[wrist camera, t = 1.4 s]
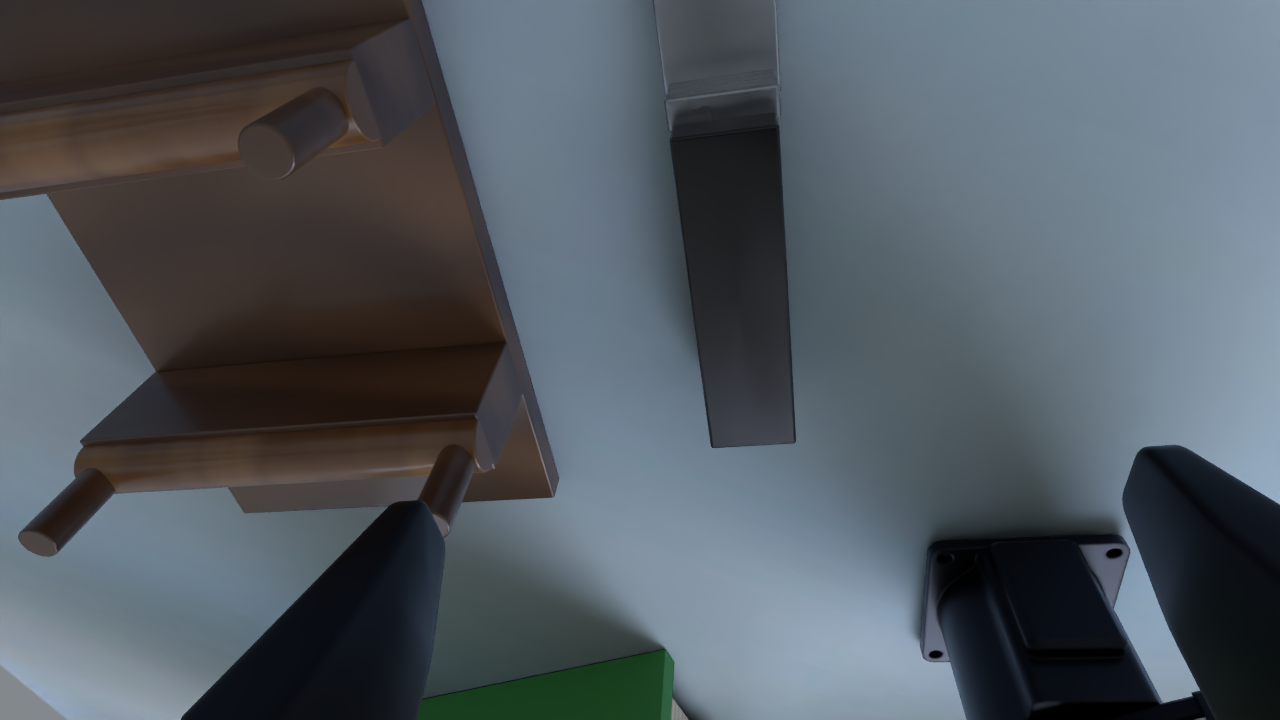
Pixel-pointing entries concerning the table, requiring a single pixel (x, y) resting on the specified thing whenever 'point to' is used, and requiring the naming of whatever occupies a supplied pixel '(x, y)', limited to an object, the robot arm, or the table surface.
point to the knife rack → (273, 254)
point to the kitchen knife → (731, 209)
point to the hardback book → (571, 694)
